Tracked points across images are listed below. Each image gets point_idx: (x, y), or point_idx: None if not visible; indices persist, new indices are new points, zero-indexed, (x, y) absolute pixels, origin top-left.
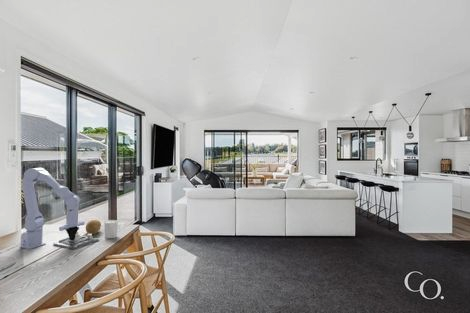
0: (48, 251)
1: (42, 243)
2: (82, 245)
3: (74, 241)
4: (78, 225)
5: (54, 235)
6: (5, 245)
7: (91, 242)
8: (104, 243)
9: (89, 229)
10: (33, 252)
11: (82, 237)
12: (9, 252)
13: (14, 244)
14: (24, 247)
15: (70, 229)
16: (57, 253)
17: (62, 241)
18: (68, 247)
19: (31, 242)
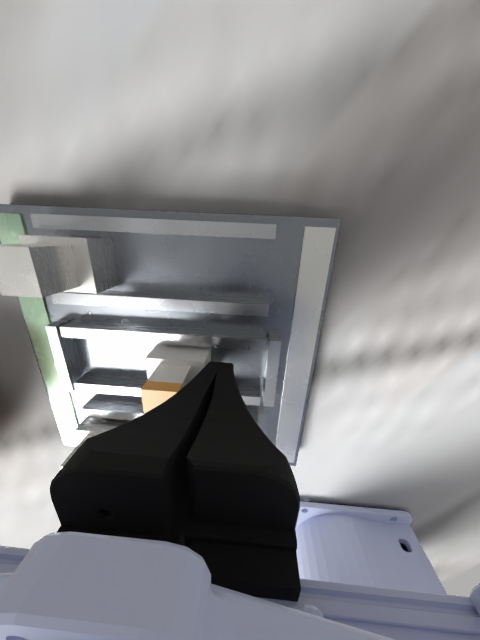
0: (429, 384)
1: (304, 519)
2: (222, 214)
3: (219, 341)
4: (34, 555)
5: None
6: None
7: (101, 209)
8: (11, 23)
9: None
10: (463, 453)
11: (85, 379)
12: (475, 548)
13: None
14: (401, 544)
15: (276, 521)
16: (474, 275)
17: None
18: (323, 300)
19: (407, 566)
